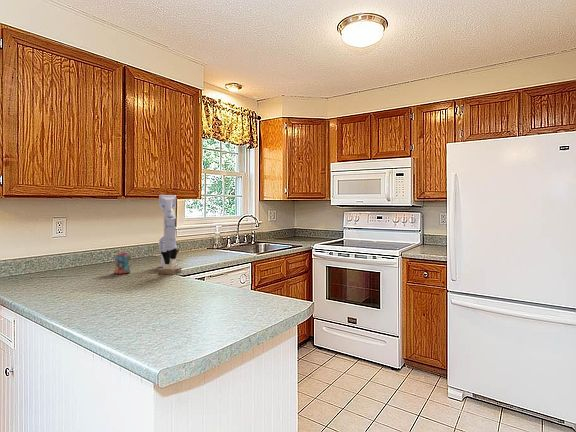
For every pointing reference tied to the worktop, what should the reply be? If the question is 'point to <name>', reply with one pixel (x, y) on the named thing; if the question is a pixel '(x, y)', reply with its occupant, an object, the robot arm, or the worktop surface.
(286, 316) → the worktop surface
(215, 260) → the worktop surface
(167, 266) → the cube
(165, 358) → the worktop surface
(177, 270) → the base slab
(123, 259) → the mug
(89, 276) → the worktop surface
